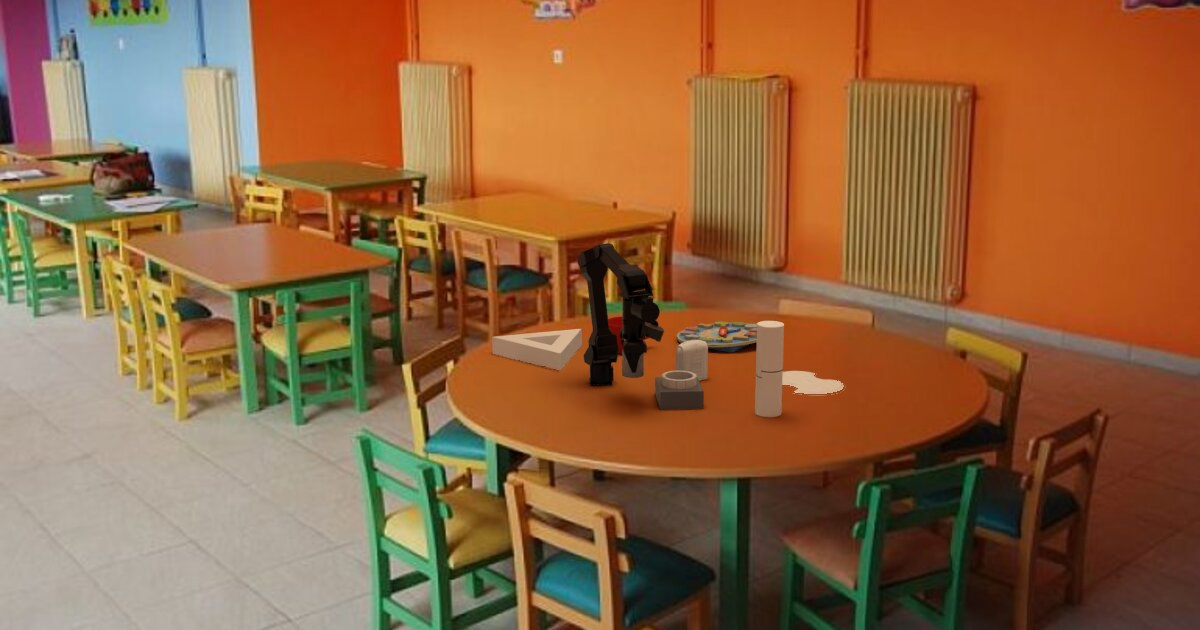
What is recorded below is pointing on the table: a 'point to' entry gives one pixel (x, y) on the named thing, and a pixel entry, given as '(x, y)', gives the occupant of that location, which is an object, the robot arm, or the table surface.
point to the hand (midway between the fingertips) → (632, 369)
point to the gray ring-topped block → (679, 391)
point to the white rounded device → (693, 358)
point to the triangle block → (540, 347)
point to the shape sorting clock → (721, 335)
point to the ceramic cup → (617, 330)
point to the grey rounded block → (627, 371)
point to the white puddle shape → (810, 383)
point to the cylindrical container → (769, 368)
